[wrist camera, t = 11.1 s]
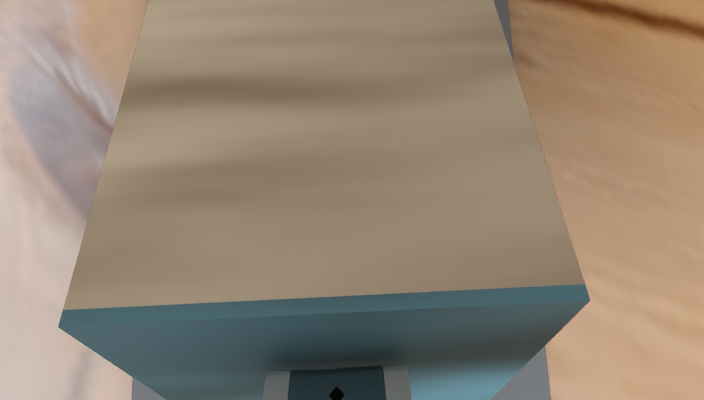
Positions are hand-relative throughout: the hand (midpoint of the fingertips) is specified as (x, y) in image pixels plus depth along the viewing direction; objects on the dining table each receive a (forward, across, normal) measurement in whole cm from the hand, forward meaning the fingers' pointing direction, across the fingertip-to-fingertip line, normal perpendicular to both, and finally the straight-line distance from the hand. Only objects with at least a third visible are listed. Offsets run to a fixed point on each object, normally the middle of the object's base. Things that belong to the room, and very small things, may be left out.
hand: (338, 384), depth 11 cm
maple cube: (+1, 0, +1) cm, 1 cm away
